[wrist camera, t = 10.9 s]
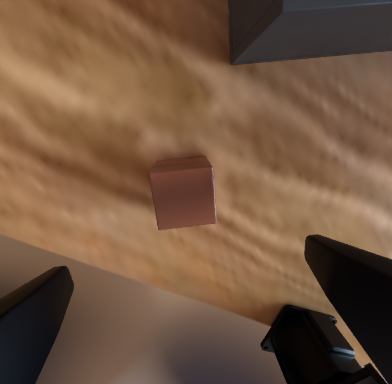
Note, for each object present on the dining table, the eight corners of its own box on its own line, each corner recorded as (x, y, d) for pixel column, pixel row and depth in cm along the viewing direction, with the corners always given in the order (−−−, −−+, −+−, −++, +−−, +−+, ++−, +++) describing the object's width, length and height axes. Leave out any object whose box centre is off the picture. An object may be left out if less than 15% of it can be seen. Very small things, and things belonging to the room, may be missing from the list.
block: (209, 202, 18) (217, 223, 15) (162, 207, 18) (158, 230, 14) (205, 155, 17) (213, 166, 13) (155, 161, 17) (148, 173, 13)
